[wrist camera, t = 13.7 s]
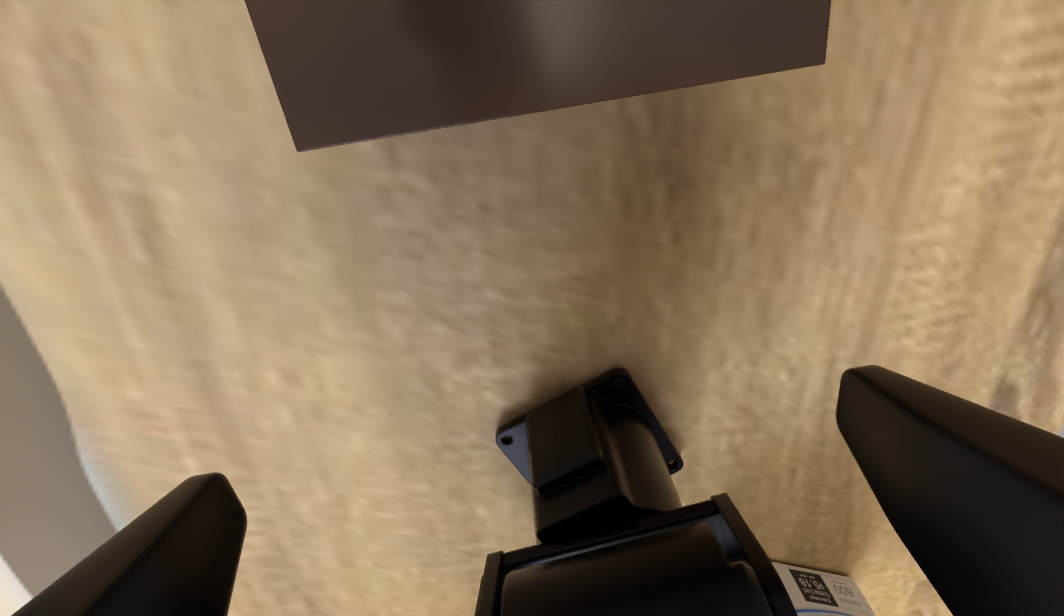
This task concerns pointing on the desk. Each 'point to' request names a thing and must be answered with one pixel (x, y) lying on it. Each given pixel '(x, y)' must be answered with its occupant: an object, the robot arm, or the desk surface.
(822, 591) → the light bulb box
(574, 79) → the walnut box
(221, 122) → the desk surface
